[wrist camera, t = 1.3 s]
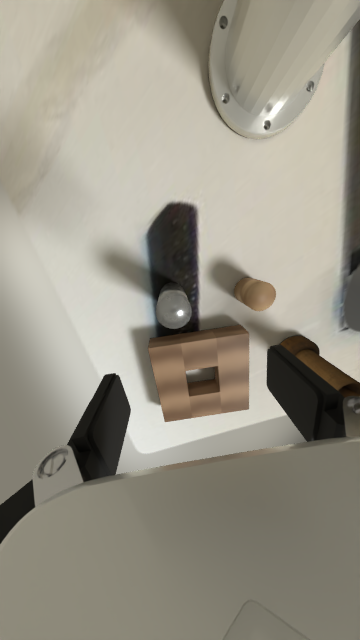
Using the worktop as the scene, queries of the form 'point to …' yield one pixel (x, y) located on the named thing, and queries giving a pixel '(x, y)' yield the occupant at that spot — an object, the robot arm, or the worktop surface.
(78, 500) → the robot arm
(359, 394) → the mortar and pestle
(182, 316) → the long pin
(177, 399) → the hole plate
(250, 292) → the short pin
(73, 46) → the worktop surface
